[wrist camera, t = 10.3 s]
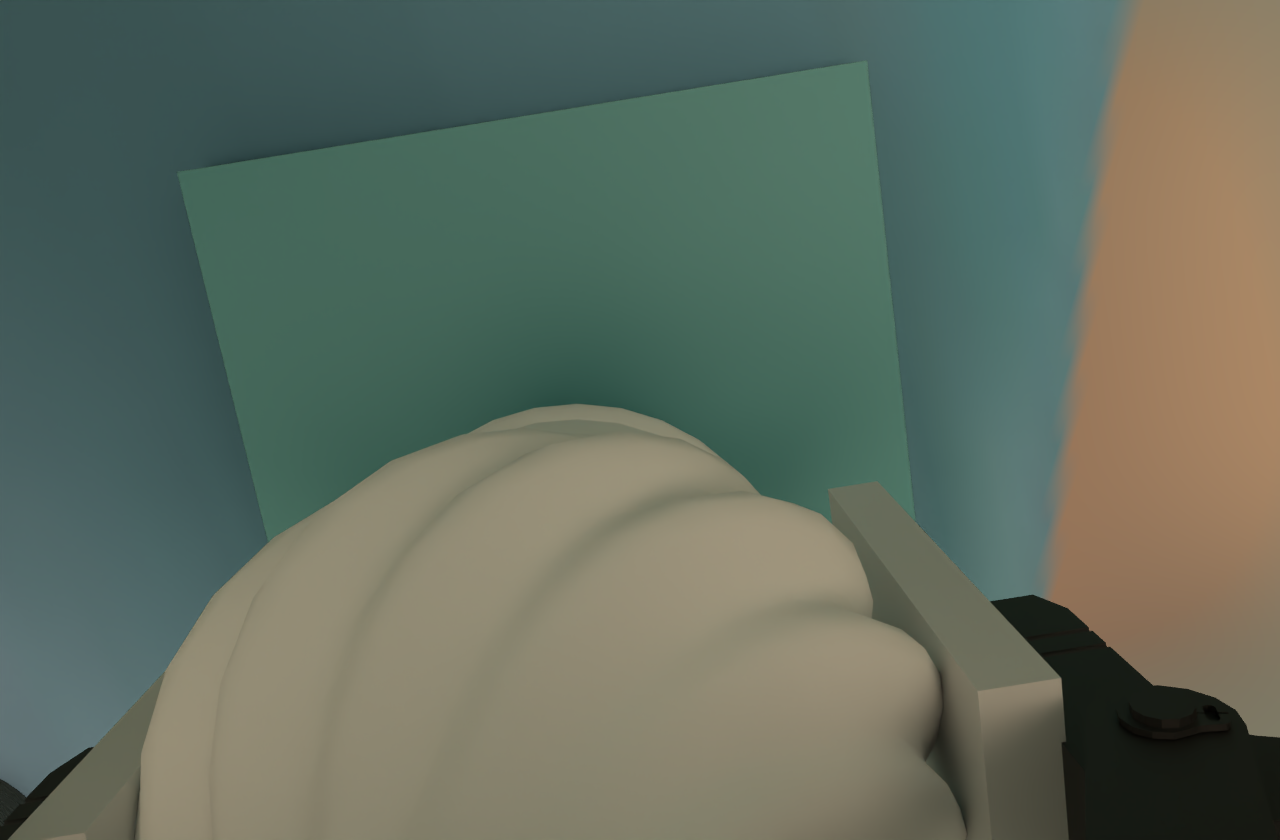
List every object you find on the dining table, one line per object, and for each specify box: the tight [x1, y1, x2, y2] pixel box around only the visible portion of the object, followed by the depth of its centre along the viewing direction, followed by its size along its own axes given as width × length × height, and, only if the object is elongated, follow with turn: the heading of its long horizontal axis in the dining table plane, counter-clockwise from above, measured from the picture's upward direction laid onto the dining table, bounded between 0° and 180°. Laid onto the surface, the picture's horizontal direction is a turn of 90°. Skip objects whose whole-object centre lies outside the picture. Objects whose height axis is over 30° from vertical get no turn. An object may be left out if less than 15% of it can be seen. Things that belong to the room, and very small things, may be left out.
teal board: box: [177, 61, 916, 542], centre depth 23 cm, size 16×14×2 cm
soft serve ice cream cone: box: [135, 404, 968, 840], centre depth 14 cm, size 8×8×16 cm
